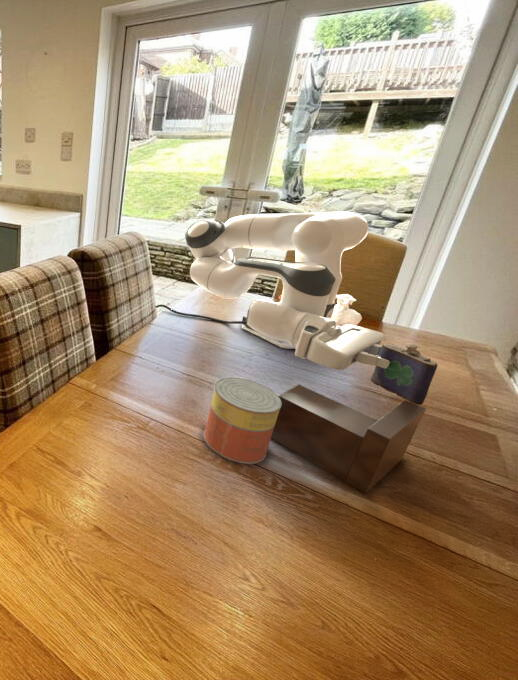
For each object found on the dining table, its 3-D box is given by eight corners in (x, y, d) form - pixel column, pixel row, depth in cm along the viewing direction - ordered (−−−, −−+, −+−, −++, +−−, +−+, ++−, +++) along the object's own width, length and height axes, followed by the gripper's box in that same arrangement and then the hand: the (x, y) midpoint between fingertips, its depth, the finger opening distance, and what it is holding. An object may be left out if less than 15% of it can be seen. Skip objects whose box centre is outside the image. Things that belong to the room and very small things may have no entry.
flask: (366, 380, 85) (382, 336, 81) (377, 378, 85) (393, 334, 81) (416, 406, 76) (436, 358, 72) (428, 403, 77) (448, 355, 73)
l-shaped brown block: (265, 435, 82) (280, 387, 78) (305, 411, 90) (320, 365, 85) (365, 493, 69) (390, 439, 64) (401, 459, 76) (426, 408, 72)
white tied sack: (356, 335, 130) (371, 305, 130) (355, 327, 125) (371, 296, 125) (313, 323, 139) (327, 295, 139) (311, 315, 134) (325, 286, 134)
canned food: (258, 431, 83) (273, 383, 79) (272, 470, 74) (289, 418, 69) (201, 419, 87) (211, 373, 82) (206, 455, 77) (219, 404, 72)
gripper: (335, 337, 98) (407, 362, 87) (291, 358, 88) (366, 389, 77) (342, 313, 95) (419, 336, 84) (298, 333, 86) (377, 361, 75)
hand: (393, 361), depth 81 cm, fingers closed on flask, 3 cm apart
